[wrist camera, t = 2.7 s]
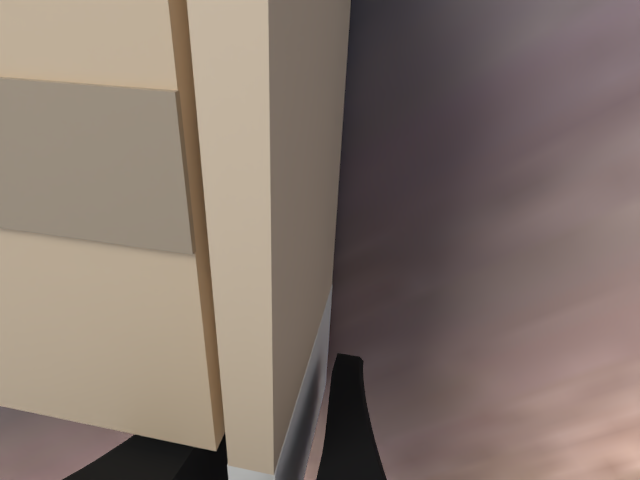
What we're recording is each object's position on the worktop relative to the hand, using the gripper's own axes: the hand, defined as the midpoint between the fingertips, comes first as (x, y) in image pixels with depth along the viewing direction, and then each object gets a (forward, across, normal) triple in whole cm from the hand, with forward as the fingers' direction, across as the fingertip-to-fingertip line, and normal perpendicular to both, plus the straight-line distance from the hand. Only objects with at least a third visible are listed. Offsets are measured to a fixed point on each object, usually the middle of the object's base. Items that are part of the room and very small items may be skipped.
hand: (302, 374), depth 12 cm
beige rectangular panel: (+2, 0, -5) cm, 5 cm away
